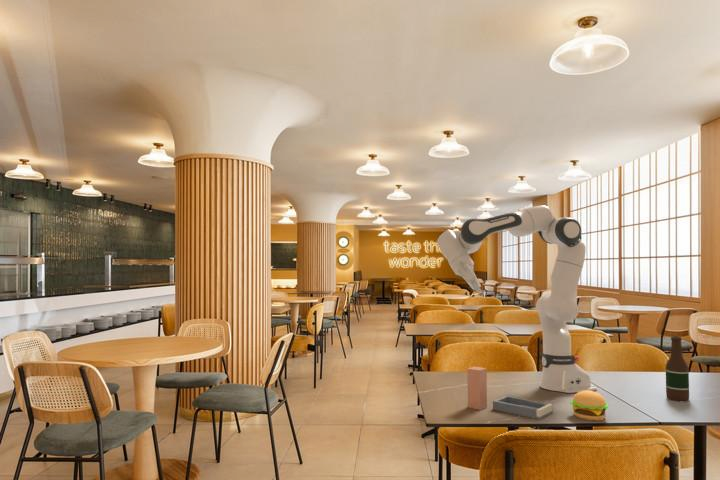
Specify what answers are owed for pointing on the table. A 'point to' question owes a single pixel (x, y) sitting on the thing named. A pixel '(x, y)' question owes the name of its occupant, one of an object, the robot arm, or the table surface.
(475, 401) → the post
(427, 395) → the table surface
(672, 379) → the beer bottle
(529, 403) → the slot board
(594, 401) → the hamburger
